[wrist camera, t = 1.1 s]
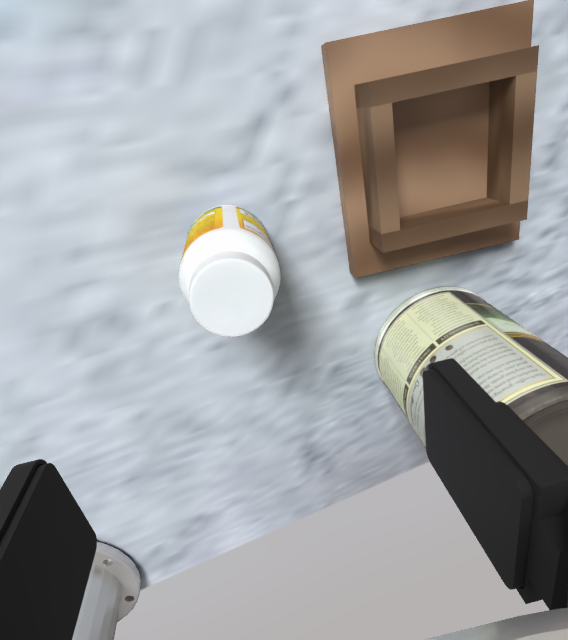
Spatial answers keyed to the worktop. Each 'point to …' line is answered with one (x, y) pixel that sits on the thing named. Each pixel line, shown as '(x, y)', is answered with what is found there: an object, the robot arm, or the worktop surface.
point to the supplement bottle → (229, 271)
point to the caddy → (433, 135)
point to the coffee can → (474, 360)
